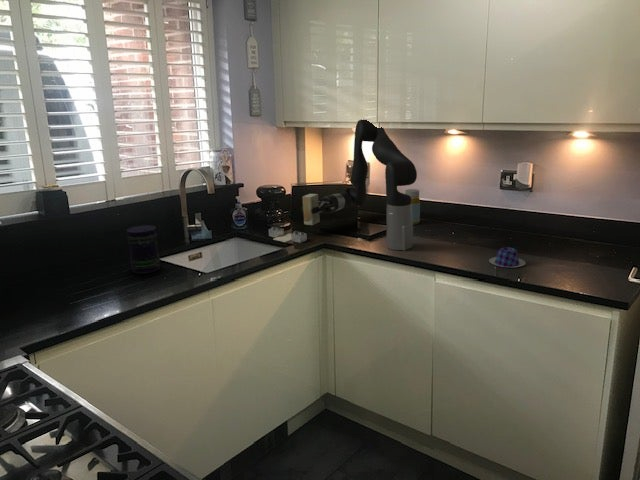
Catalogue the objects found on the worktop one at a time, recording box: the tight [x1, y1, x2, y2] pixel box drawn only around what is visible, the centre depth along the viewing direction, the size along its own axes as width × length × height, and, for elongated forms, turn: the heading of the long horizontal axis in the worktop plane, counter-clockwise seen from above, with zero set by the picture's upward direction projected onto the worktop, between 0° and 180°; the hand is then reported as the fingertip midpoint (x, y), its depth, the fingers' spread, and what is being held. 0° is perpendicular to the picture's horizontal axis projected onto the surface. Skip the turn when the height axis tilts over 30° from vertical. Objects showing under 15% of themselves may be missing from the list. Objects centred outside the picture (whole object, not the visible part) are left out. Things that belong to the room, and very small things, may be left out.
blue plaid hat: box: [488, 246, 526, 268], centre depth 189 cm, size 12×12×5 cm
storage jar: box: [126, 224, 161, 274], centre depth 194 cm, size 10×10×15 cm
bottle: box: [404, 188, 421, 226], centre depth 245 cm, size 7×7×15 cm
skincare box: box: [302, 193, 321, 226], centre depth 230 cm, size 6×4×12 cm
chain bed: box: [268, 226, 308, 244], centre depth 229 cm, size 18×4×4 cm, turn 50°
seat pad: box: [272, 233, 292, 243], centre depth 229 cm, size 7×10×1 cm
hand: (307, 210), depth 228 cm, fingers closed on skincare box, 5 cm apart
